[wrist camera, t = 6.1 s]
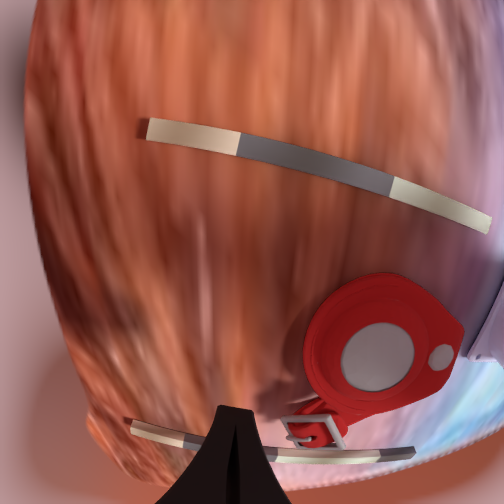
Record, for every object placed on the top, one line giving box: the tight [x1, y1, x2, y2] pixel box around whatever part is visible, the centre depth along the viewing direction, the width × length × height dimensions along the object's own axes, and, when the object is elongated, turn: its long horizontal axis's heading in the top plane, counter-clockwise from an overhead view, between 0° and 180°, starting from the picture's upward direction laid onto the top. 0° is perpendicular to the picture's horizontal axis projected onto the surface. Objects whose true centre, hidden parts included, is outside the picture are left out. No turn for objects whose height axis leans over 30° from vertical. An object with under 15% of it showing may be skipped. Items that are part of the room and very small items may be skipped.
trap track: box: [130, 118, 492, 464], centre depth 16 cm, size 24×21×1 cm
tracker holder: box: [280, 273, 465, 450], centre depth 15 cm, size 12×4×10 cm
